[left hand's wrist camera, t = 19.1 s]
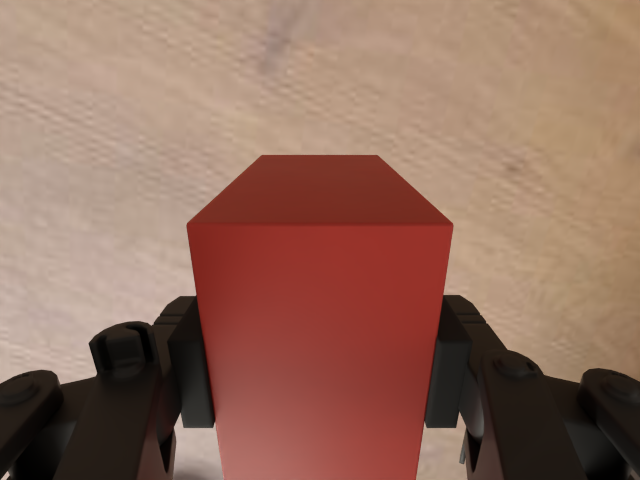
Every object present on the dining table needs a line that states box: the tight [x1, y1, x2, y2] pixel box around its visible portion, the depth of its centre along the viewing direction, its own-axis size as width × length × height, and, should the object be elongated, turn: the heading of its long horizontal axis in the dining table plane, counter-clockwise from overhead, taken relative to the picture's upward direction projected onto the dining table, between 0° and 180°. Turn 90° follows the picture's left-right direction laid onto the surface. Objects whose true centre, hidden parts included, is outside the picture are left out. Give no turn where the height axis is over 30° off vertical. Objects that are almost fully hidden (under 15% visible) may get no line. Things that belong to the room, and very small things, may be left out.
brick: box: [187, 155, 453, 480], centre depth 13 cm, size 6×8×10 cm
